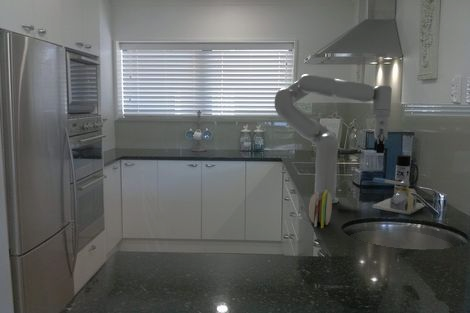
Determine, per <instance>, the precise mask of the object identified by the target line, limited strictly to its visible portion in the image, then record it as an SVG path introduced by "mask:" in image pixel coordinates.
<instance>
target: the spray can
mask: <svg viewBox="0 0 470 313" xmlns="http://www.w3.org/2000/svg"><path fill="white" fill-rule="evenodd" d="M395 163H396V165H395V175H394V176H395V177H394V181H400V182H401V181H406V182H410V172H411V155H406V154H399V155H397V156H396V162H395ZM400 187H402V188H403V186H401V185H397V184H394V193H395V189H398V188H400ZM409 187H410V185H409V186H407V188H409ZM394 193H393V194H394Z"/></svg>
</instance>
